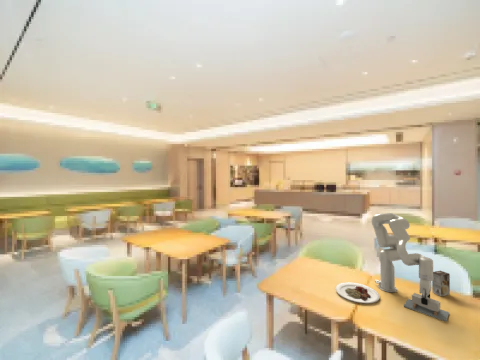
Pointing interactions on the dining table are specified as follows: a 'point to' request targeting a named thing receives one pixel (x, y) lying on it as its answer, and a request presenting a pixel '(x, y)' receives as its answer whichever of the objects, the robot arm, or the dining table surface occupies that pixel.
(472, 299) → the dining table surface
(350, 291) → the plated food
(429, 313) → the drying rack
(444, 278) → the coffee box
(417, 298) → the light grey block
